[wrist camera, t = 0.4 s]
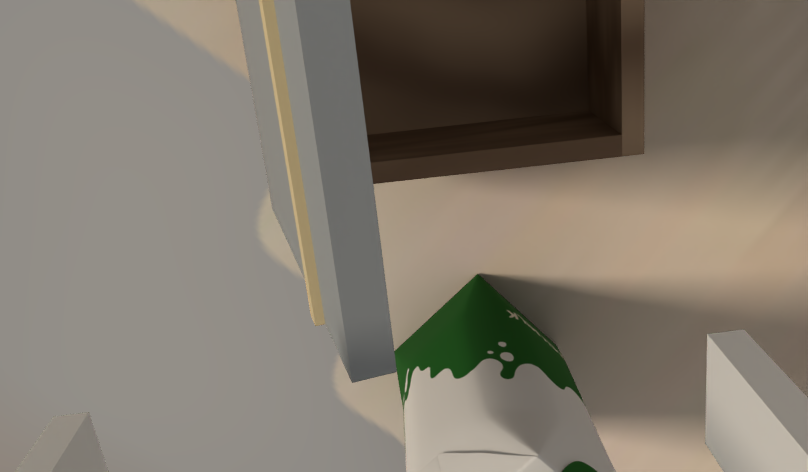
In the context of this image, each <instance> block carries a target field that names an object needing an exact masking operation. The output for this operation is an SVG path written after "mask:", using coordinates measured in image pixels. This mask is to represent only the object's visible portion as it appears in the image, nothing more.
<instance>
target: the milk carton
mask: <svg viewBox="0 0 808 472" xmlns="http://www.w3.org/2000/svg"><path fill="white" fill-rule="evenodd" d="M394 353H395V361H396V368H397V374H398V380H399V387H400V393H401V399H402V405H403V411H404V432H405V453H406V472H616V471H615V469H614V467H613V465H612V463H611V461H610V459H609V457H608V455H607V453H606V450H605V448H604V446H603V444H602V442H601V439H600V437H599V435H598V433H597V431H596V428H595V426H594V424H593V422H592V420H591V417H590V415H589V413H588V411H587V408H586V406H585V404H584V402H583V400H582V397H581V395H580V393H579V391H578V389H577V386H576V384H575V382H574V380H573V377H572V375H571V373H570V371H569V369H568V366H567V364H566V362H565V360H564V358H563V356H562V354H561V353H560V351H559V349H558V347H557V346H556V345H555V344H554V343H553V342H552V341H551V340H550V339H549V338H547V337H546V336H545V335H544V334H543V333H542V332H541V331H540V330H539V329H538V328H537V327H535V326H534V325H533V324H532V323H531V322H530V321H529V320H528V319H527V318H526V317H525V316H523V315H522V314H521V313H520V312H519V311H518V310H517V309H516V308H515V307H514V306H513V305H511V304H510V303H509V302H508V301H507V300H506V299H505V298H504V297H503V296H502V295H501V294H499V293H498V292H497V291H496V290H495V289H494V288H493V287H492V286H491V285H490V284H488V283H487V282H486V281H485V280H484V279H483V278H482V277H481V276H480V275H479V274H477V275H476V276H475V277H474V278H473V279H472V280H471V281H470V282H468V283H467V284H466V285H465V286H464V287H463V288H462V289H461V290H460V291H459V292H458V293H457V294H456V295H455V296H453V297H452V298H451V299H450V300H449V301H448V302H447V303H446V304H445V305H444V306H443V307H442V308H441V309H440V310H438V311H437V312H436V313H435V314H434V315H433V316H432V317H431V318H430V319H429V320H428V321H427V322H426V323H424V324H423V325H422V326H421V327H420V328H419V329H418V330H417V331H416V332H415V333H414V334H413V335H412V336H411V337H409V338H408V339H407V340H406V341H405V342H404V343H403V344H402V345H401V346H400V347H399V348H398V349H397V350H396V351H394Z"/></svg>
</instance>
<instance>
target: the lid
mask: <svg viewBox="0 0 808 472" xmlns="http://www.w3.org/2000/svg"><path fill="white" fill-rule="evenodd" d="M236 4H237V10H238V15H239V21H240V27H241V32H242V38H243V44H244V50H245V55H246V61H247V67H248V72H249V78H250V84H251V89H252V95H253V101H254V106H255V112H256V118H257V123H258V128H259V134H260V140H261V146H262V152H263V157H264V163H265V169H266V175H267V180H268V186H269V192H270V197H271V203H272V209H273V211H274V213H275V215H276V217H277V220H278V222H279V224H280V226H281V228H282V231H283V233H284V235H285V237H286V239H287V241H288V244H289V246H290V248H291V250H292V252H293V255H294V257H295V259H296V261H297V263H298V265H299V268H300V270H301V272H302V274H303V276H304V279H305V282H306V288H307V294H308V300H309V306H310V312H311V317H312V319H313V321H314V324H315V326H318V325H323V324H326V327H327V329H328V331H329V333H330V335H331V338H332V339H333V342H334V344H335V346H336V349H337V351H338V353H339V355H340V357H341V359H342V362H343V364H344V366H345V368H346V370H347V373H348V375H349V377H350V379H351V381H352V383H353V382H357V381H362V380H366V379H370V378H374V377H378V376H382V375H386V374H390V373H394V372H397V369H396V361H395V353H394V345H393V337H392V330H391V322H390V314H389V306H388V298H387V290H386V282H385V274H384V266H383V258H382V250H381V243H380V235H379V227H378V219H377V211H376V203H375V195H374V187H373V179H372V171H371V163H370V155H369V148H368V140H367V132H366V124H365V116H364V108H363V100H362V92H361V84H360V76H359V68H358V61H357V53H356V45H355V37H354V29H353V21H352V13H351V5H350V0H236Z"/></svg>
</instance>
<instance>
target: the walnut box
mask: <svg viewBox="0 0 808 472" xmlns="http://www.w3.org/2000/svg"><path fill="white" fill-rule="evenodd" d="M350 5H351V13H352V21H353V29H354V37H355V45H356V53H357V61H358V68H359V76H360V84H361V92H362V100H363V108H364V116H365V124H366V132H367V140H368V148H369V155H370V163H371V171H372V179H373V184H376V183H385V182H394V181H403V180H412V179H421V178H430V177H439V176H449V175H458V174H467V173H476V172H485V171H494V170H503V169H512V168H521V167H530V166H539V165H548V164H557V163H566V162H575V161H584V160H593V159H602V158H611V157H620V156H629V155H638V154H644V0H350Z"/></svg>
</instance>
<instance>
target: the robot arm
mask: <svg viewBox="0 0 808 472" xmlns="http://www.w3.org/2000/svg"><path fill="white" fill-rule="evenodd" d="M705 444H706V445H707V447H708V448H709V450H710V451H711V453H712V454H713V456H714V457H715V459H716V461H717V462H718V464H719V465H720V467H721V468H722V470H723V471H724V472H808V397H807V396H806V395H805V394H804V393H803V392H802V391H801V390H800V389H799V388H798V387H797V385H796V384H795V383H794V382H793V381H792V380H791V379H790V378H789V377H788V376H787V375H786V374H785V373H784V372H783V371H782V369H781V368H780V367H779V366H778V365H777V364H776V363H775V362H774V361H773V360H772V359H771V358H770V357H769V356H768V354H767V353H766V352H765V351H764V350H763V349H762V348H761V347H760V346H759V345H758V344H757V343H756V342H755V341H754V339H753V338H752V337H751V336H750V335H749V334H748V333H747V332H746V331H745V330H744V329H743V330H735V331H727V332H719V333H711V334H707V374H706V430H705ZM15 472H109V471H108V469H107V466H106V462H105V459H104V456H103V454H102V450H101V447H100V444H99V441H98V439H97V435H96V432H95V430H94V426H93V423H92V420H91V418H90V414H89V412H85V413H78V414H70V415H62V416H54V417H53V418H52V419H51V421H50V422H49V424H48V425H47V427H46V428H45V429H44V431H43V432H42V434H41V435H40V437H39V438H38V439H37V441H36V442H35V444H34V445H33V447H32V448H31V449H30V451H29V452H28V454H27V455H26V457H25V458H24V459H23V461H22V462H21V464H20V465H19V467H18V468H17V470H16V471H15Z"/></svg>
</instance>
